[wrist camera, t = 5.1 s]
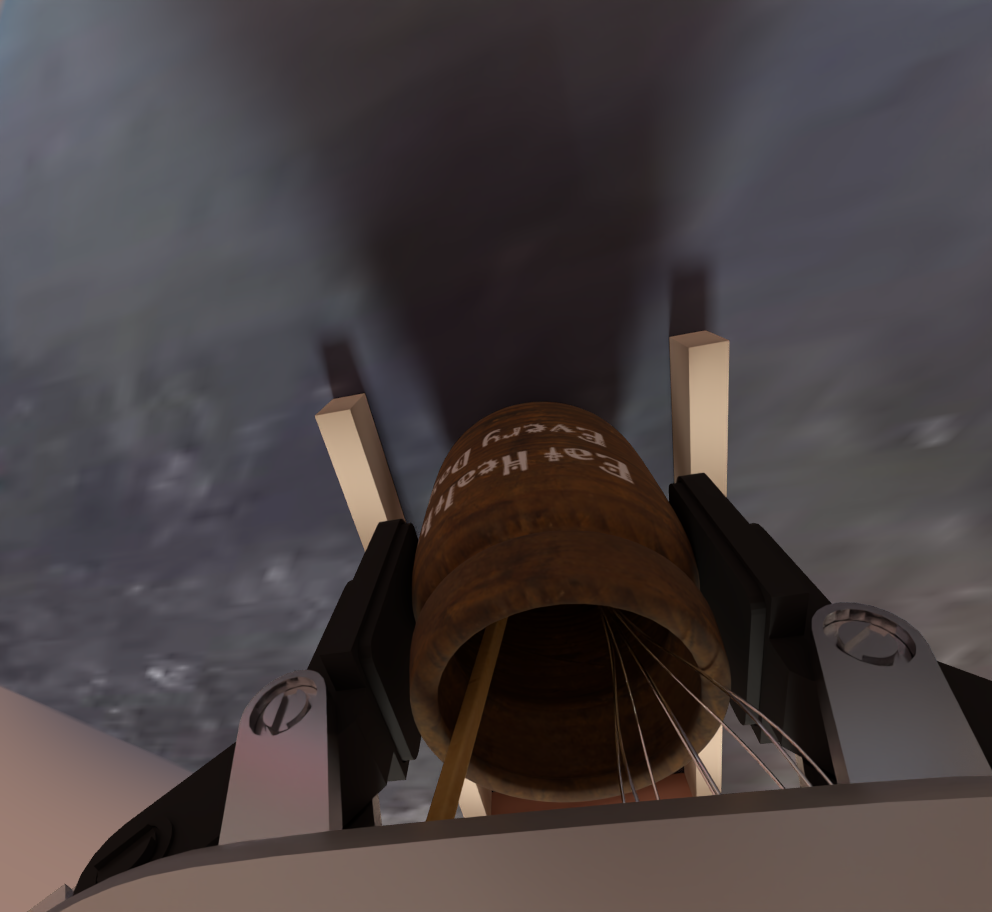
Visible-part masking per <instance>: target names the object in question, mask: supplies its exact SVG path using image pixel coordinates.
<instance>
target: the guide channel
mask: <svg viewBox="0 0 992 912" xmlns="http://www.w3.org/2000/svg"><path fill="white" fill-rule="evenodd" d="M669 341H670V370H671V399H672V428H673V457H674V483H676V480H677V477H678V476H683V475H690V474H697V473H705V474H706V475H707V476H708V477H709V478H710V479H711V480H712V481H713V483H714V484H715V485H716V486H717V487H718V488H719V490H720V491H721V492H722V493H723V494H724V495H725V496H726V493H727V438H728V383H729V340H727V339H725V338H722V337H720V336H718V335H715V334H713V333H711V332H708V331H706V330H705V331H699V332H694V333H688V334H683V335H678V336H672V337H669ZM315 418H316V420H317V423H318V426H319V428H320V431H321V434H322V436H323V439H324V442H325V444H326V447H327V450H328V453H329V455H330V458H331V461H332V463H333V466H334V469H335V471H336V474H337V477H338V479H339V482H340V485H341V487H342V490H343V493H344V496H345V498H346V501H347V504H348V506H349V509H350V512H351V514H352V517H353V520H354V522H355V525H356V528H357V531H358V533H359V536H360V539H361V541H362V544H363V547H364V549H365V551H366V549H367V547H368V545H369V542H370V540H371V538H372V536H373V533H374V531H375V529H376V527H377V525H378V523H379V522H382V521H389V520H396V519H404V521H405V518H404V515H403V512H402V509H401V506H400V502H399V499H398V496H397V493H396V490H395V487H394V483H393V480H392V477H391V474H390V471H389V468H388V465H387V461H386V458H385V455H384V452H383V449H382V446H381V443H380V439H379V436H378V433H377V430H376V427H375V424H374V421H373V417H372V414H371V411H370V408H369V405H368V402H367V399H366V395H365V393H363V394H358V395H352V396H347V397H341V398H336V399H333V400H331V401H330V402H329V403H328V404H327V405H326V406H325V407H324V408H323V409H322V410H321V411H320V412H318V413H317V414H316V415H315ZM405 522H406V521H405ZM698 755H699V757H700V759H701V760H702V762H703V764H704V765H705V767H706V769H707V770H708V772H709V774H710V775H711V777H712V779H713V780H714V782H715V784H716V785H717V787H718V789H719V790H720V792H721V768H722V725H721V726H720V727H719V729H718V731H717V732H716V734H715V735H714V737H713V738H712V739H711V741H710V742H709V743H708V744H707V746H706V747H705V748H704V749H703V750H702V751H701V752H700V753H699V754H698ZM699 766H700V765H699ZM702 771H703V770H702ZM706 778H707V777H706ZM709 783H710V782H709ZM655 785H656V788H657V791H658V795H659V798H660V800H662V799H673V798H685V797H697V796H708V795H713V794H712V792H711V791H710V789H709V787H708V785H707V784H706V782H705V780H704V779H703V777H702V775H701V773H700V772H699V770H698V768H697V766H696V765H695V763H694V761H693V760H691V761H690V762H689V763H687V764H686V765H685V766H684V773H677V774H671V775H669V776H668V777H666V778H664V779H662V780H660V781H658V782H656V783H655ZM712 788H713V787H712ZM713 790H714V789H713ZM636 792H637V795H638V798H639V801H651V800H657V799H656V796H655V792H654V789H653V786H652V785H649V786H647V787H644V788H642V789H639V790H636ZM624 795H625V801H626V803H629V802H636V801H635V799H634V796H633V793H632V792H630V793H626V794H624ZM716 795H717V794H716ZM618 803H622V798H621V795H619V796H615V797H610V798H605V799H600V800H592V801H583V802H543V801H534V800H528V799H522V798H517V797H512V796H509V795H505V794H501V793H498V792H491V790H490V789H487V788H485V787H482V786H480V785H478V784H476V783H474V782H472V781H470V780H468V779H466V778H465V780H464V784H463V788H462V791H461V795H460V799H459V805H460V808H461V810H462V813H463V816H464V818H467V817H477V816H488V815H499V814H510V813H520V812H531V811H542V810H553V809H564V808H574V807H585V806H596V805H607V804H618Z"/></svg>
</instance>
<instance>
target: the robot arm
mask: <svg viewBox="0 0 992 912" xmlns="http://www.w3.org/2000/svg"><path fill="white" fill-rule="evenodd" d="M669 503H670V505H671V506H672V508H673V510H674V511H675V513H676V515H677V517H678V518H679V520H680V522H681V524H682V526H683V528H684V530H685V532H686V534H687V536H688V539H689V541H690V544H691V547H692V549H693V552H694V556H695V560H696V564H697V568H698V572H699V580H700V591H701V593H702V594H703V596H704V598H705V599H706V601H707V602H708V604H709V606H710V608H711V610H712V612H713V615H714V617H715V620H716V622H717V625H718V628H719V631H720V634H721V637H722V641H723V644H724V648H725V651H726V655H727V658H728V663H729V667H730V674H731V691H733V692H734V693H736V694H737V695H739V696H740V697H742V698H743V699H745V700H746V701H747V702H749V703H750V704H751V705H753V706H754V707H755V708H757V709H758V710H759V711H761V712H762V713H763V714H765V715H766V716H767V717H768V718H769V719H771V720H772V721H773V722H774V723H775V724H777V725H778V726H779V727H780V728H781V729H782V730H783V731H785V732H786V733H787V734H788V735H789V736H790V737H791V738H792V739H793V740H794V741H795V742H796V743H797V744H798V745H799V746H800V747H801V748H802V749H803V750H804V751H805V752H806V753H807V754H808V755H809V756H810V757H811V758H812V759H813V760H814V761H815V763H816V764H817V765H818V766H819V767H820V768H821V769H822V770H823V771H824V773H825V774H826V775H827V776H828V777H829V778H830V780H831V781H832V782H833V783H834V784H835V785H829V783H828V782H827V781H826V780H825V779H824V778H823V776H822V775H821V774H820V773H819V772H818V770H817V769H816V768H815V767H814V766H813V765H812V764H811V763H810V762H809V761H808V760H807V759H806V757H805V756H804V755H803V754H802V753H801V752H800V751H799V750H798V749H797V748H796V747H795V746H794V745H793V744H792V743H791V742H790V741H789V740H788V739H787V738H786V737H785V736H784V735H783V734H781V733H780V732H779V731H778V730H777V729H776V728H775V727H774V726H772V725H771V724H770V723H769V722H768V721H766V720H765V719H764V718H763V717H762V716H760V715H759V714H758V713H756V712H755V711H754V710H752V709H751V708H750V707H748V706H747V705H746V704H744V703H743V702H742V701H740V700H739V699H738V700H739V701H740V702H741V703H742V704H743V705H744V706H745V707H746V708H747V709H748V710H749V711H750V712H751V713H752V714H753V715H754V716H755V717H756V718H757V719H758V720H759V721H760V722H761V723H762V724H763V725H764V727H765V728H766V729H767V730H768V731H769V732H770V733H771V734H772V736H773V737H774V738H775V739H776V740H777V741H778V742H779V743H780V744H781V746H783V747H784V748H786V749H788V750H790V751H792V752H793V753H795V757H796V763H797V766H798V768H799V769H800V770H801V771H802V773H803V774H804V775H805V777H806V778H807V779H808V780H809V782H810V783H811V784H812V786H813V787H807V785H806V784H805V783H804V781H803V780H802V779H801V777H800V776H799V781H800V788H790V789H778V790H766V791H755V792H743V793H732V794H720V795H708V796H697V797H685V798H673V799H662V800H651V801H640V802H629V803H618V804H607V805H596V806H585V807H574V808H564V809H553V810H542V811H531V812H520V813H510V814H499V815H488V816H477V817H467V818H457V819H447V820H437V821H426V822H416V823H406V824H396V825H385V826H382V821H381V813H380V805H379V796H378V793H379V792H380V791H381V790H382V789H383V788H384V787H385V786H386V785H387V781H397V780H406V776H407V771H408V765H409V760H415V759H416V758H417V756H418V752H419V746H420V740H421V734H420V732H419V730H418V728H417V726H416V723H415V721H414V717H413V714H412V709H411V703H410V683H409V665H410V648H411V642H412V636H413V632H414V629H415V625H416V621H415V617H414V613H413V606H412V573H413V566H414V560H415V554H416V549H417V545H418V538H417V535H416V531H415V528H414V526H413V524H412V523H409V524H406V522H405V521H404V519H396V520H389V521H382V522H379V523H378V525H377V527H376V529H375V531H374V533H373V536H372V538H371V540H370V542H369V545H368V547H367V549H366V551H365V554H364V556H363V558H362V560H361V563H360V565H359V567H358V569H357V572H356V574H355V576H354V578H353V580H351V581H349V582H348V583H347V585H346V586H345V588H344V590H343V592H342V594H341V597H340V599H339V601H338V603H337V605H336V608H335V610H334V612H333V614H332V616H331V618H330V621H329V623H328V625H327V627H326V629H325V631H324V634H323V636H322V638H321V640H320V642H319V645H318V647H317V649H316V651H315V653H314V655H313V658H312V660H311V662H310V664H309V666H308V668H307V670H297V671H294V672H290V673H287V674H285V675H283V676H281V677H279V678H277V679H275V680H273V681H272V682H270V683H269V684H268V685H266V686H265V687H264V688H262V689H261V690H260V691H259V692H258V693H257V694H256V695H255V696H254V697H253V698H252V700H251V701H250V702H249V704H248V706H247V707H246V709H245V710H244V712H243V715H242V718H241V721H240V724H239V729H238V735H237V741H236V742H235V743H234V744H232V745H231V746H230V747H228V748H227V749H226V750H224V751H223V752H222V753H220V754H219V755H218V756H216V757H215V758H213V759H212V760H211V761H209V762H208V763H207V764H205V765H204V766H203V767H201V768H200V769H199V770H197V771H196V772H195V773H193V774H192V775H191V776H189V777H188V778H187V779H185V780H184V781H183V782H181V783H180V784H179V785H177V786H176V787H175V788H173V789H172V790H170V791H169V792H168V793H166V794H165V795H164V796H162V797H161V798H160V799H158V800H157V801H156V802H154V803H153V804H152V805H150V806H149V807H148V808H146V809H145V810H144V811H142V812H141V813H140V814H138V815H137V816H136V817H134V818H133V819H131V820H130V821H129V822H127V823H126V824H125V825H124V826H123V827H122V828H120V829H119V830H118V831H117V832H116V833H114V834H113V835H112V836H111V837H110V838H109V839H108V840H107V841H106V842H105V843H104V844H103V845H102V847H101V848H100V849H99V850H98V851H97V852H96V853H95V854H94V856H93V857H92V859H91V860H90V862H89V863H88V865H87V866H86V868H85V869H84V871H83V872H82V874H81V876H80V878H79V881H78V883H77V885H76V886H75V887H74V888H73V889H71V888H70V887H68V886H67V885H66V884H64V885H63V886H61V887H60V888H59V889H57V890H56V891H55V892H53V893H52V894H50V895H49V896H48V897H46V898H45V899H44V900H42V901H41V902H40V903H38V904H37V905H36V906H34V907H33V908H32V909H30V910H29V911H27V912H992V681H990V680H988V679H985V678H982V677H979V676H977V675H974V674H971V673H968V672H966V671H963V670H960V669H958V668H955V667H952V666H949V665H947V664H944V663H941V662H938V661H936V659H935V657H934V655H933V653H932V651H931V649H930V647H929V645H928V643H927V642H926V640H925V639H924V638H923V636H922V635H921V634H920V632H919V631H918V630H916V629H915V628H914V627H913V626H911V625H910V624H909V623H908V622H907V621H905V620H903V619H901V618H899V617H898V616H896V615H894V614H892V613H890V612H888V611H885V610H882V609H879V608H877V607H874V606H870V605H864V604H859V603H842V602H839V603H834V604H832V603H831V602H830V601H829V600H828V599H827V598H826V597H825V596H824V595H823V594H822V592H821V591H820V590H819V589H818V588H817V587H816V586H815V585H814V584H813V583H812V581H811V580H810V579H809V578H808V577H807V576H806V575H805V574H804V573H803V571H802V570H801V569H800V568H799V567H798V566H797V565H796V564H795V563H794V562H793V560H792V559H791V558H790V557H789V556H788V555H787V554H786V553H785V552H784V550H783V549H782V548H781V547H780V546H779V545H778V544H777V543H776V542H775V541H774V539H773V538H772V537H771V536H770V535H769V534H768V533H767V532H766V531H765V530H764V528H762V527H761V526H760V525H759V524H756V523H752V524H749V523H748V522H747V521H746V519H745V518H744V517H743V516H742V515H741V514H740V512H739V511H738V510H737V509H736V508H735V507H734V506H733V504H732V503H731V502H730V501H729V500H728V499H727V498H726V496H725V495H724V494H723V493H722V492H721V491H720V490H719V488H718V487H717V486H716V485H715V484H714V483H713V481H712V480H711V479H710V478H709V477H708V476H707V475H706V474H705V473H697V474H690V475H683V476H678V477H677V480H676V483H672V484H670V485H669ZM729 702H730V704H731V706H732V708H733V710H734V712H735V714H736V716H737V718H738V720H739V722H740V723H741V724H742V725H751V727H752V729H753V731H754V733H755V735H756V737H757V739H758V741H759V743H760V744H765V743H773V742H772V741H771V740H770V738H769V737H768V736H767V735H766V734H765V733H764V732H763V730H762V729H761V728H760V727H759V726H758V725H757V723H756V722H755V721H754V720H753V719H752V718H751V717H750V716H749V715H748V714H747V713H746V712H745V711H744V710H743V709H742V708H741V707H740V706H739V705H738V704H737V703H736V702H735V701H734V700H732V699H731V698H730V701H729Z"/></svg>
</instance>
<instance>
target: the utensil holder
mask: <svg viewBox="0 0 992 912" xmlns="http://www.w3.org/2000/svg"><path fill="white" fill-rule="evenodd" d="M412 606H413V613H414V617H415V621H416V625H415V629H414V632H413V636H412V642H411V648H410V665H409V683H410V703H411V709H412V714H413V717H414V721H415V723H416V726H417V728H418V730H419V732H420V734H421V736H422V738H423V739H424V741H425V742H426V744H427V745H428V747H429V748H430V749H431V750H432V751H433V753H434V754H435V755H436V756H437V757H438V758H439V759H440V760H441V761H442V762H444V764H443V767H442V771H441V774H440V777H439V780H438V784H437V787H436V790H435V793H434V797H433V800H432V803H431V806H430V809H429V813H428V816H427V819H426V821H437V820H447V819H454V818H455V814H456V810H457V806H458V803H459V799H460V795H461V791H462V788H463V784H464V780H465V778H466V779H468V780H470V781H472V782H474V783H476V784H478V785H480V786H482V787H485V788H487V789H490V790H492V791H495V792H498V793H501V794H505V795H509V796H512V797H517V798H522V799H528V800H534V801H543V802H583V801H592V800H600V799H605V798H610V797H615V796H619V795H621V798H622V803H626V801H625V795H624V794H626V793H630V792H632V793H633V796H634V799H635V801H636V802H640V801H639V798H638V795H637V792H636V790H639V789H642V788H644V787H647V786H649V785H652V786H653V789H654V792H655V796H656V799H657V800H660V798H659V795H658V791H657V788H656V785H655V783H656V782H658V781H660V780H662V779H664V778H666V777H668V776H669V775H671V774H673V773H674V772H676V771H677V770H679V769H680V768H682V767H683V766H685V765H686V764H687V763H689V762H690V761H691V760H693V761H694V763H695V765H696V766H697V768H698V770H699V772H700V773H701V775H702V777H703V779H704V780H705V782H706V784H707V785H708V787H709V789H710V791H711V792H712V794H713V795H716V794H717V795H720V794H721V792H720V790H719V789H718V787H717V785H716V784H715V782H714V780H713V779H712V777H711V775H710V774H709V772H708V770H707V769H706V767H705V765H704V764H703V762H702V760H701V759H700V757H699V755H698V754H699V753H700V752H701V751H702V750H703V749H704V748H705V747H706V746H707V744H708V743H709V742H710V741H711V739H712V738H713V737H714V735H715V734H716V732H717V731H718V729H719V727H720V726H721V725H722V726H723V727H724V728H725V729H726V730H727V731H728V732H729V733H730V734H731V735H732V736H733V737H734V738H735V739H736V740H737V741H738V742H739V743H740V744H741V745H742V746H743V747H744V748H745V749H746V750H747V751H748V752H749V753H750V754H751V755H752V756H753V757H754V758H755V760H756V761H757V762H758V763H759V764H760V765H761V766H762V767H763V768H764V770H765V771H766V772H767V773H768V774H769V775H770V776H771V777H772V779H773V780H774V781H775V782H776V783H777V785H778V786H779V787H780V788H781V789H785V787H784V786H783V785H782V784H781V783H780V782H779V780H778V779H777V778H776V777H775V776H774V775H773V773H772V772H771V771H770V770H769V769H768V768H767V767H766V766H765V765H764V763H763V762H762V761H761V760H760V759H759V758H758V757H757V756H756V755H755V754H754V753H753V752H752V751H751V750H750V749H749V747H748V746H747V745H746V744H745V743H744V742H743V741H742V740H741V739H740V738H739V737H738V736H737V735H736V734H735V733H734V732H733V731H732V730H731V729H730V728H729V727H728V726H727V725H726V724H725V723H724V722H723V719H724V717H725V715H726V712H727V709H728V705H729V701H730V698H731V699H732V700H734V701H735V702H736V703H737V704H738V705H739V706H740V707H741V708H742V709H743V710H744V711H745V712H746V713H747V714H748V715H749V716H750V717H751V718H752V719H753V720H754V721H755V722H756V723H757V725H758V726H759V727H760V728H761V729H762V730H763V732H764V733H765V734H766V735H767V736H768V737H769V738H770V740H771V741H772V742H773V743H774V744H775V746H776V747H777V748H778V749H779V751H780V752H781V753H782V754H783V756H784V757H785V758H786V759H787V761H788V762H789V763H790V764H791V766H792V767H793V768H794V770H795V771H796V772H797V773H798V775H799V776H800V777H801V779H802V780H803V781H804V783H805V784H806V785H807V787H813V786H812V784H811V783H810V782H809V780H808V779H807V778H806V777H805V775H804V774H803V773H802V771H801V770H800V769H799V768H798V766H797V765H796V764H795V762H794V761H793V760H792V759H791V757H790V756H789V755H788V754H787V753H786V751H785V750H784V749H783V748H782V746H781V745H780V744H779V743H778V741H777V740H776V739H775V738H774V737H773V736H772V734H771V733H770V732H769V731H768V730H767V729H766V728H765V727H764V725H763V724H762V723H761V722H760V721H759V720H758V719H757V718H756V717H755V716H754V715H753V714H752V713H751V712H750V711H749V710H748V709H747V708H746V707H745V706H744V705H743V704H742V703H741V702H740V701H742V702H743V703H744V704H746V705H747V706H748V707H750V708H751V709H752V710H754V711H755V712H756V713H758V714H759V715H760V716H762V717H763V718H764V719H765V720H766V721H768V722H769V723H770V724H771V725H772V726H774V727H775V728H776V729H777V730H778V731H779V732H780V733H781V734H783V735H784V736H785V737H786V738H787V739H788V740H789V741H790V742H791V743H792V744H793V745H794V746H795V747H796V748H797V749H798V750H799V751H800V752H801V753H802V754H803V755H804V756H805V757H806V759H807V760H808V761H809V762H810V763H811V764H812V765H813V766H814V767H815V768H816V769H817V770H818V772H819V773H820V774H821V775H822V776H823V778H824V779H825V780H826V781H827V782H828V783H829V785H835V784H834V783H833V782H832V781H831V780H830V778H829V777H828V776H827V775H826V774H825V773H824V771H823V770H822V769H821V768H820V767H819V766H818V765H817V764H816V763H815V761H814V760H813V759H812V758H811V757H810V756H809V755H808V754H807V753H806V752H805V751H804V750H803V749H802V748H801V747H800V746H799V745H798V744H797V743H796V742H795V741H794V740H793V739H792V738H791V737H790V736H789V735H788V734H787V733H786V732H785V731H783V730H782V729H781V728H780V727H779V726H778V725H777V724H775V723H774V722H773V721H772V720H771V719H769V718H768V717H767V716H766V715H765V714H763V713H762V712H761V711H759V710H758V709H757V708H755V707H754V706H753V705H751V704H750V703H749V702H747V701H746V700H745V699H743V698H742V697H740V696H739V695H737V694H736V693H734V692H733V691H731V674H730V667H729V663H728V658H727V655H726V651H725V648H724V644H723V641H722V637H721V634H720V631H719V628H718V625H717V622H716V620H715V617H714V615H713V612H712V610H711V608H710V606H709V604H708V602H707V601H706V599H705V598H704V596H703V594H702V593H701V591H700V580H699V572H698V568H697V564H696V560H695V556H694V552H693V549H692V547H691V544H690V541H689V539H688V536H687V534H686V532H685V530H684V528H683V526H682V524H681V522H680V520H679V518H678V517H677V515H676V513H675V511H674V510H673V508H672V506H671V505H670V503H669V501H668V500H667V498H666V496H665V495H664V493H663V492H662V490H661V488H660V487H659V485H658V484H657V482H656V481H655V479H654V478H653V476H652V474H651V473H650V471H649V470H648V468H647V467H646V465H645V464H644V462H643V461H642V459H641V458H640V456H639V455H638V454H637V452H636V451H635V450H634V448H633V447H632V446H631V444H630V443H629V442H628V441H627V440H626V439H625V438H624V437H623V435H622V434H620V433H619V432H618V431H617V430H616V429H615V428H614V427H613V426H611V425H610V424H609V423H607V422H606V421H605V420H603V419H602V418H600V417H598V416H597V415H595V414H593V413H591V412H588V411H586V410H584V409H581V408H578V407H575V406H572V405H568V404H563V403H557V402H529V403H522V404H517V405H513V406H510V407H506V408H503V409H501V410H498V411H496V412H494V413H492V414H490V415H488V416H486V417H485V418H483V419H481V420H480V421H478V422H477V423H476V424H474V425H473V426H472V427H471V428H469V429H468V430H467V431H466V432H465V433H464V434H463V435H462V436H461V437H460V438H459V439H458V441H457V442H456V443H455V444H454V446H453V447H452V449H451V450H450V452H449V453H448V455H447V457H446V458H445V460H444V462H443V464H442V466H441V468H440V471H439V473H438V476H437V479H436V481H435V484H434V487H433V490H432V494H431V497H430V500H429V504H428V507H427V511H426V515H425V518H424V522H423V525H422V529H421V533H420V537H419V541H418V545H417V549H416V554H415V560H414V566H413V573H412ZM738 699H739V700H740V701H739V700H738ZM699 765H700V766H699ZM702 770H703V771H702ZM706 777H707V778H706ZM709 782H710V783H709ZM712 787H713V788H712ZM713 789H714V790H713Z"/></svg>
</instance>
